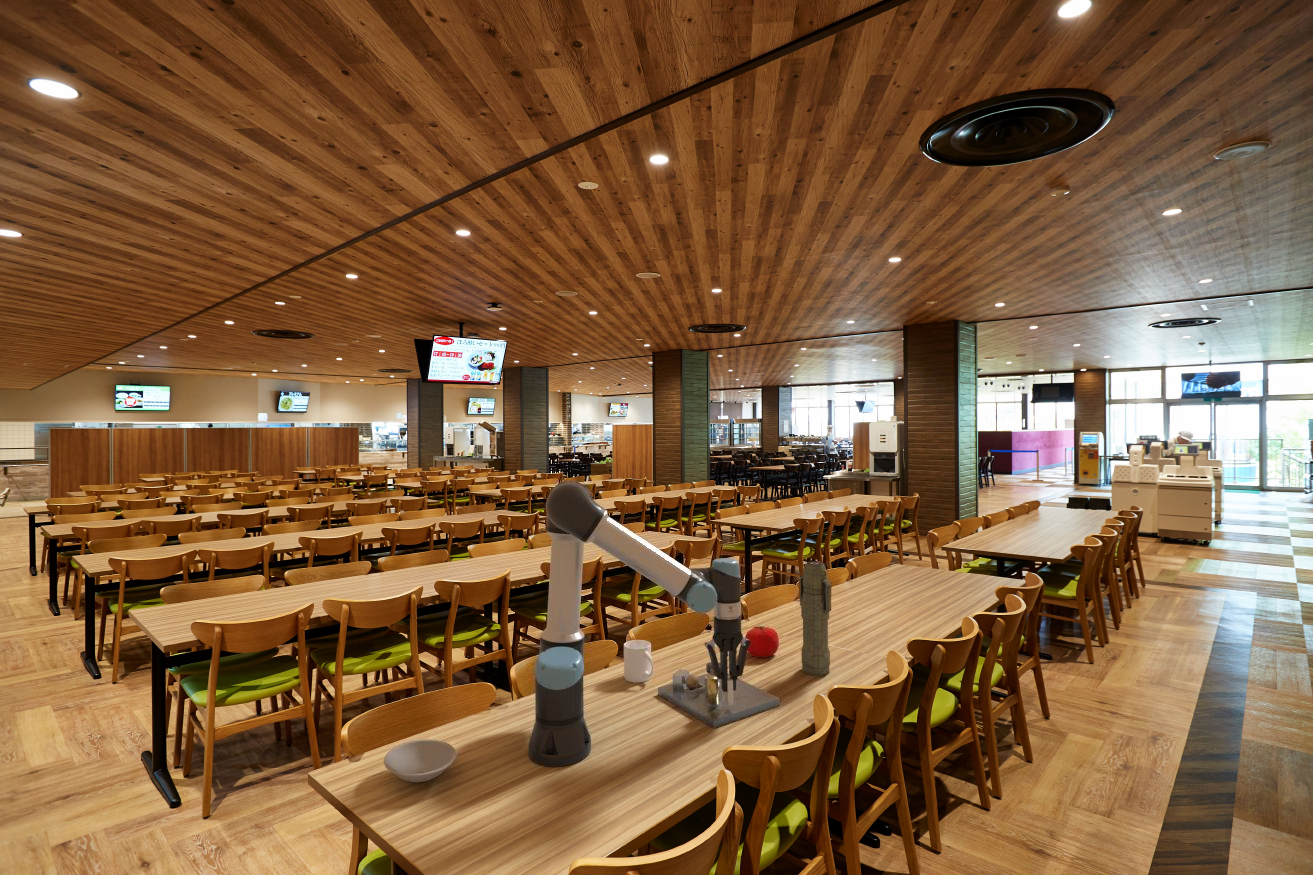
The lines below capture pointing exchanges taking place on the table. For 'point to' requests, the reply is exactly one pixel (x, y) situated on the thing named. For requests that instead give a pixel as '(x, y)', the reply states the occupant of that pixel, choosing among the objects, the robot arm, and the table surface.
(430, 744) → the dish
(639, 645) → the mug
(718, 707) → the bench plate
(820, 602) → the thermos
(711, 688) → the lever
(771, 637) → the tomato
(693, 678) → the tan wooden ball
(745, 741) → the table surface
